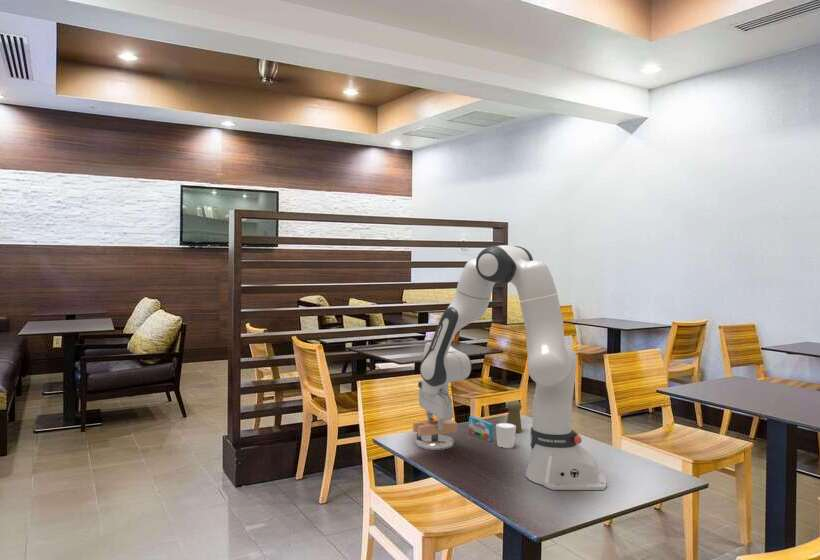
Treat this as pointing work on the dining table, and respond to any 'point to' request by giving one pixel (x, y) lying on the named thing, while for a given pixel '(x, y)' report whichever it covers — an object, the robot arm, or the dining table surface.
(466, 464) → the dining table surface
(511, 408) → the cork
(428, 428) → the orange letter a block
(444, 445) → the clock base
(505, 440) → the white cylindrical downlight
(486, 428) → the blue printed cardboard box
